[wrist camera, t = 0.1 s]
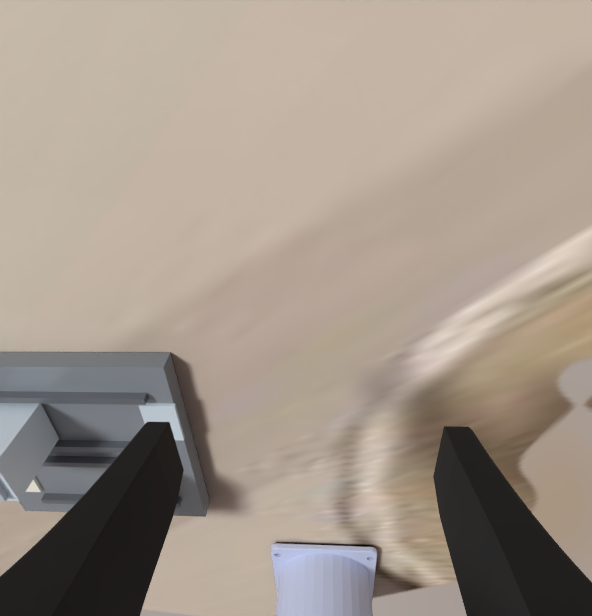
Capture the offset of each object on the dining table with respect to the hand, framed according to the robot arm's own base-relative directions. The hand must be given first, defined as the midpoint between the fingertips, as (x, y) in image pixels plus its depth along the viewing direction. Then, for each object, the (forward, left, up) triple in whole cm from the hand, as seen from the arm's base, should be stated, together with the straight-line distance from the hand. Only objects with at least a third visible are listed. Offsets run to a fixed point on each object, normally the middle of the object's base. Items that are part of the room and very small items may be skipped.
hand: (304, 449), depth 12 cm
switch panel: (-12, +14, -10) cm, 21 cm away
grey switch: (-9, +17, -9) cm, 21 cm away
